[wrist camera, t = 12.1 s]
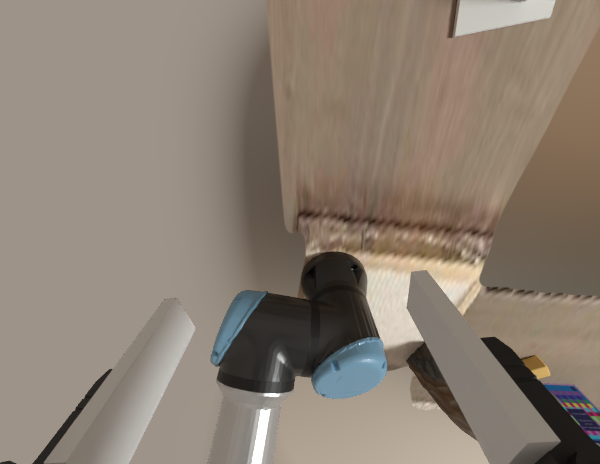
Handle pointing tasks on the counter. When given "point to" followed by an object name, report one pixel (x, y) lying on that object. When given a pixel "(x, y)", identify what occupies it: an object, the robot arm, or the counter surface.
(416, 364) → the owl
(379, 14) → the counter surface
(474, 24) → the white mat
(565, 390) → the box
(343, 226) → the counter surface
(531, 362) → the rubber stamp
